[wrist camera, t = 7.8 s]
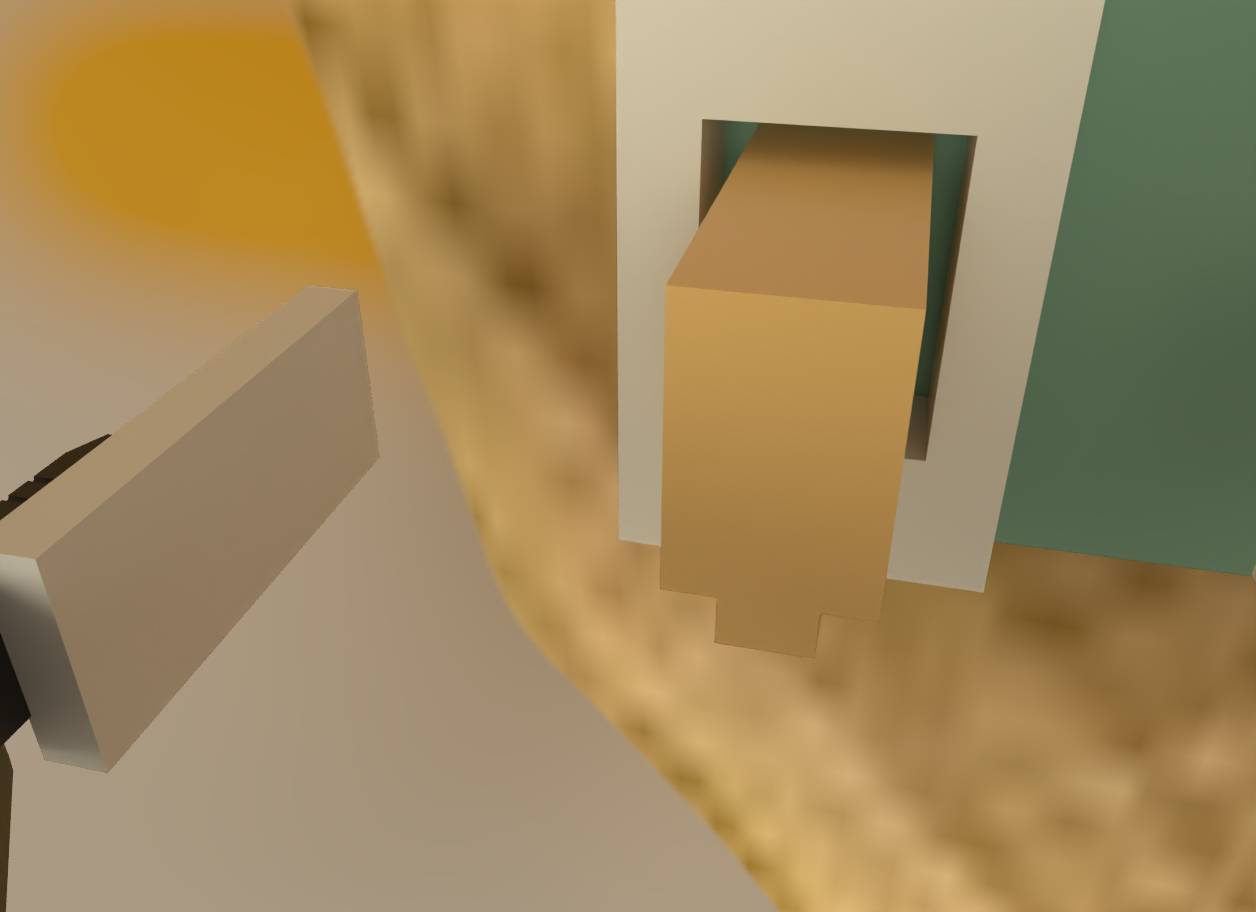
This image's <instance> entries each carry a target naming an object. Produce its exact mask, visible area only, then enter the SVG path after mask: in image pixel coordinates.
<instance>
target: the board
mask: <svg viewBox="0 0 1256 912" xmlns="http://www.w3.org/2000/svg"><path fill="white" fill-rule="evenodd" d="M759 123H777V124H793V125H809V126H826V127H842V128H858V129H874V130H891V131H907V132H923V133H935V134H934V155H933V177H932V198H931V219H930V240H929V261H928V283H927V304H926V315H925V321H924V328H923V335H922V342H921V348H920V355H919V362H918V369H917V375H916V382H915V389H914V396H913V402H912V409H911V416H910V423H909V429H908V436H907V443H906V449H905V456H904V463H903V470H902V476H901V483H900V490H899V497H898V503H897V510H896V517H895V524H894V530H893V537H892V544H891V551H890V557H889V564H888V571H887V577H886V579H893V580H900V581H907V582H913V583H920V584H927V585H934V586H941V587H948V588H955V589H962V590H969V591H976V592H984V587H985V582H986V578H987V573H988V568H989V563H990V558H991V553H992V548H993V544H994V542H1000V543H1007V544H1015V545H1022V546H1030V547H1037V548H1045V549H1052V550H1059V551H1067V552H1074V553H1082V554H1089V555H1097V556H1104V557H1112V558H1119V559H1126V560H1134V561H1141V562H1149V563H1156V564H1164V565H1171V566H1178V567H1186V568H1193V569H1201V570H1208V571H1216V572H1223V573H1230V574H1238V575H1245V576H1253V575H1252V572H1253V570H1254V567H1255V564H1256V0H616V140H617V310H618V480H619V540H622V541H629V542H636V543H643V544H649V545H656V546H661V509H662V454H663V399H664V344H665V289H666V284H667V282H668V280H669V279H670V277H671V275H672V273H673V272H674V270H675V268H676V267H677V265H678V263H679V261H680V260H681V258H682V256H683V254H684V253H685V251H686V249H687V248H688V246H689V244H690V242H691V241H692V239H693V237H694V235H695V234H696V232H697V230H698V229H699V227H700V225H701V223H702V222H703V220H704V218H705V216H706V215H707V213H708V211H709V210H710V208H711V206H712V204H713V203H714V201H715V199H716V198H717V196H718V194H719V192H720V191H721V189H722V187H723V185H724V184H725V182H726V180H727V179H728V177H729V175H730V173H731V172H732V170H733V168H734V166H735V165H736V163H737V161H738V160H739V158H740V156H741V154H742V153H743V151H744V149H745V147H746V146H747V144H748V142H749V141H750V139H751V137H752V135H753V134H754V132H755V130H756V128H757V127H758V125H759Z"/></svg>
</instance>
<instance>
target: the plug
mask: <svg viewBox="0 0 1256 912" xmlns="http://www.w3.org/2000/svg"><path fill="white" fill-rule="evenodd" d="M934 134H935V133H923V132H907V131H891V130H874V129H858V128H842V127H826V126H809V125H793V124H777V123H759V125H758V127H757V128H756V130H755V132H754V134H753V135H752V137H751V139H750V141H749V142H748V144H747V146H746V147H745V149H744V151H743V153H742V154H741V156H740V158H739V160H738V161H737V163H736V165H735V166H734V168H733V170H732V172H731V173H730V175H729V177H728V179H727V180H726V182H725V184H724V185H723V187H722V189H721V191H720V192H719V194H718V196H717V198H716V199H715V201H714V203H713V204H712V206H711V208H710V210H709V211H708V213H707V215H706V216H705V218H704V220H703V222H702V223H701V225H700V227H699V229H698V230H697V232H696V234H695V235H694V237H693V239H692V241H691V242H690V244H689V246H688V248H687V249H686V251H685V253H684V254H683V256H682V258H681V260H680V261H679V263H678V265H677V267H676V268H675V270H674V272H673V273H672V275H671V277H670V279H669V280H668V282H667V284H666V289H665V344H664V399H663V454H662V509H661V564H660V589H662V590H669V591H676V592H682V593H689V594H695V595H702V596H708V597H715V598H717V605H716V625H715V643H719V644H725V645H732V646H738V647H744V648H750V649H756V650H763V651H769V652H775V653H781V654H787V655H794V656H800V657H806V658H812V659H814V658H815V651H816V645H817V639H818V632H819V626H820V619H821V614H826V615H833V616H840V617H846V618H853V619H859V620H866V621H872V622H879V623H880V618H881V611H882V604H883V598H884V591H885V584H886V577H887V571H888V564H889V557H890V551H891V544H892V537H893V530H894V524H895V517H896V510H897V503H898V497H899V490H900V483H901V476H902V470H903V463H904V456H905V449H906V443H907V436H908V429H909V423H910V416H911V409H912V402H913V396H914V389H915V382H916V375H917V369H918V362H919V355H920V348H921V342H922V335H923V328H924V321H925V315H926V304H927V283H928V261H929V240H930V219H931V198H932V177H933V155H934Z"/></svg>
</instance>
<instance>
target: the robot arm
mask: <svg viewBox="0 0 1256 912" xmlns="http://www.w3.org/2000/svg"><path fill="white" fill-rule="evenodd" d="M378 458H379V449H378V441H377V434H376V426H375V419H374V411H373V403H372V396H371V388H370V381H369V374H368V366H367V359H366V351H365V344H364V336H363V329H362V322H361V314H360V306H359V299H358V293H357V290H352V289H342V288H332V287H322V286H312V285H308V286H306V287H305V288H304V289H302V290H301V291H300V292H298V293H297V294H296V295H294V296H293V297H292V298H291V299H289V300H288V301H287V302H285V303H284V304H283V305H281V306H280V307H279V308H278V309H276V310H275V311H274V312H272V313H271V314H270V315H268V316H267V317H266V318H264V319H263V320H262V321H260V322H259V323H258V324H257V325H255V326H254V327H253V328H251V329H250V330H249V331H248V332H246V333H245V334H243V335H242V336H241V337H240V338H238V339H237V340H236V341H234V342H233V343H232V344H230V345H229V346H228V347H227V348H225V349H224V350H223V351H221V352H220V353H219V354H217V355H216V356H215V357H213V358H212V359H211V360H210V361H208V362H207V363H206V364H204V365H203V366H202V367H200V368H199V369H198V370H196V371H195V372H194V373H193V374H191V375H190V376H189V377H187V378H186V379H185V380H184V381H182V382H181V383H179V384H178V385H177V386H176V387H174V388H173V389H172V390H171V391H169V392H168V393H166V394H165V395H164V396H163V397H161V398H160V399H159V400H157V401H156V402H155V403H153V404H152V405H151V406H149V407H148V408H147V409H145V410H144V411H143V412H142V413H140V414H139V415H138V416H136V417H135V418H134V419H132V420H131V421H130V422H129V423H127V424H126V425H125V426H123V427H122V428H121V429H119V430H118V431H117V432H115V433H114V434H113V435H109V434H107V435H105V436H103V437H100V438H98V439H96V440H94V441H91V442H89V443H87V444H85V445H82V446H80V447H78V448H75V449H73V450H71V451H69V452H66V453H65V454H63V455H62V456H61V457H59V458H58V459H57V460H55V461H54V462H53V463H51V464H50V465H49V466H47V467H46V468H45V469H43V470H42V471H40V472H39V473H38V474H37V475H35V476H34V481H33V482H31V481H27V482H26V483H24V484H23V485H22V486H20V487H19V488H18V489H16V490H15V491H14V492H12V493H11V494H10V495H9V498H8V500H7V501H3V500H2V501H0V912H6V897H7V878H8V859H9V839H10V820H11V801H12V782H13V781H12V780H13V768H12V765H11V761H10V758H9V755H8V753H7V750H6V747H5V745H4V743H5V742H6V741H7V740H8V739H9V738H10V737H11V736H12V735H13V734H14V733H15V732H16V731H17V730H18V729H19V728H20V727H21V726H22V725H23V724H24V723H25V722H26V721H27V720H28V719H29V720H30V722H31V725H32V728H33V730H34V733H35V735H36V738H37V741H38V744H39V746H40V749H41V752H42V754H43V757H44V759H45V760H47V761H52V762H57V763H62V764H66V765H71V766H76V767H81V768H85V769H91V770H95V771H99V772H104V773H108V772H109V771H110V770H111V769H112V768H113V766H114V765H115V764H116V763H117V762H118V761H119V760H120V758H121V757H122V756H123V755H124V754H125V752H126V751H127V750H128V749H129V748H130V747H131V746H132V744H133V743H134V742H135V741H136V740H137V739H138V737H139V736H140V735H141V734H142V733H143V732H144V730H145V729H146V728H147V727H148V726H149V725H150V723H151V722H152V721H153V720H154V719H155V718H156V716H157V715H158V714H159V713H160V712H161V711H162V709H163V708H164V707H165V706H166V705H167V703H168V702H169V701H170V700H171V699H172V698H173V697H174V696H175V694H176V693H177V692H178V691H179V690H180V689H181V687H182V686H183V685H184V684H185V683H186V682H187V680H188V679H189V678H190V677H191V676H192V675H193V673H194V672H195V671H196V670H197V669H198V668H199V667H200V665H201V664H202V663H203V662H204V661H205V660H206V658H207V657H208V656H209V655H210V654H211V652H212V651H213V650H214V649H215V648H216V647H217V646H218V644H219V643H220V642H221V641H222V640H223V639H224V637H225V636H226V635H227V634H228V633H229V632H230V631H231V629H232V628H233V627H234V626H235V625H236V623H237V622H238V621H239V620H240V619H241V618H242V617H243V615H244V614H245V613H246V612H247V611H248V610H249V608H250V607H251V606H252V605H253V604H254V603H255V601H256V600H257V599H258V598H259V597H260V595H261V594H262V593H263V592H264V591H265V590H266V589H267V587H268V586H269V585H270V584H271V583H272V582H273V580H274V579H275V578H276V577H277V576H278V575H279V574H280V572H281V571H282V570H283V569H284V568H285V567H286V565H287V564H288V563H289V562H290V561H291V560H292V558H293V557H294V556H295V555H296V554H297V552H298V551H299V550H300V549H301V548H302V547H303V545H304V544H305V543H306V542H307V541H308V540H309V539H310V538H311V536H312V535H313V534H314V533H315V532H316V530H317V529H318V528H319V527H320V526H321V525H322V524H323V522H324V521H325V520H326V519H327V518H328V517H329V515H330V514H331V513H332V512H333V511H334V510H335V508H336V507H337V506H338V505H339V504H340V503H341V501H342V500H343V499H344V498H345V497H346V496H347V495H348V493H349V492H350V491H351V490H352V489H353V487H354V486H355V485H356V484H357V483H358V482H359V480H360V479H361V478H362V477H363V476H364V475H365V474H366V472H367V471H368V470H369V469H370V468H371V467H372V465H373V464H374V463H375V462H376V461H377V460H378ZM1252 575H1253V578H1254V581H1255V583H1256V564H1255V567H1254V570H1253V572H1252Z"/></svg>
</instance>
